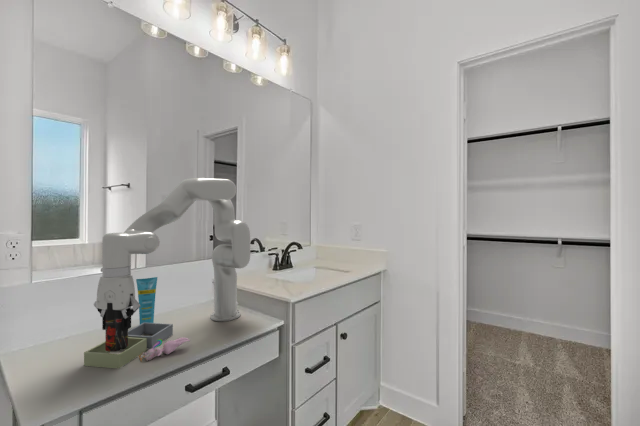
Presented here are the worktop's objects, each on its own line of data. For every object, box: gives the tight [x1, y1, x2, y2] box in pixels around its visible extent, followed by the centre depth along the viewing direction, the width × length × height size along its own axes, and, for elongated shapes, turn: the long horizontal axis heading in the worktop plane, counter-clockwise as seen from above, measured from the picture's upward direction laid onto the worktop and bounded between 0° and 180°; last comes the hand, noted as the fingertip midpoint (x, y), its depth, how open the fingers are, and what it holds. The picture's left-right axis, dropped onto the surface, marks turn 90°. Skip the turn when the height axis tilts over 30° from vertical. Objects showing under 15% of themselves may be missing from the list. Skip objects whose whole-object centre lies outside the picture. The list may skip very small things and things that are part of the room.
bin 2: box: [128, 322, 174, 350], centre depth 109 cm, size 12×12×4 cm
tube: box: [135, 276, 158, 325], centre depth 123 cm, size 7×5×19 cm, turn 123°
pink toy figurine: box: [138, 337, 191, 363], centre depth 99 cm, size 6×6×15 cm
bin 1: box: [83, 337, 148, 369], centre depth 97 cm, size 12×12×4 cm
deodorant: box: [104, 303, 129, 353], centre depth 96 cm, size 6×6×15 cm
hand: (116, 328), depth 96 cm, fingers closed on deodorant, 5 cm apart
